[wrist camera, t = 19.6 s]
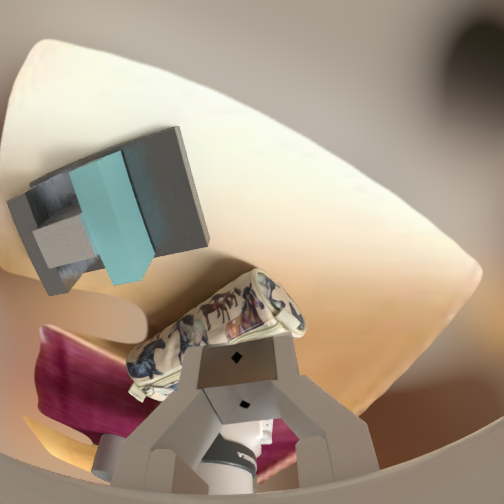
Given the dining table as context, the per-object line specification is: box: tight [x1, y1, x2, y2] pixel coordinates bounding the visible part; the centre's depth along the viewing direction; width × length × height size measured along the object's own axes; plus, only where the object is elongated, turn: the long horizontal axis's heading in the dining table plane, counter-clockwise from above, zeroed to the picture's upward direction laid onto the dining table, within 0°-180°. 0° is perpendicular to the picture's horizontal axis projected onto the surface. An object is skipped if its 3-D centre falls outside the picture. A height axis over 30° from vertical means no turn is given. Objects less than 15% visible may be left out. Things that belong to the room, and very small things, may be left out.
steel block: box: [32, 203, 99, 269], centre depth 26 cm, size 4×6×6 cm, turn 102°
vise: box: [7, 126, 210, 296], centre depth 27 cm, size 12×18×7 cm, turn 102°
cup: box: [91, 434, 125, 483], centre depth 50 cm, size 8×8×10 cm
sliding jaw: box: [69, 151, 155, 286], centre depth 26 cm, size 11×3×5 cm, turn 12°
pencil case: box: [126, 268, 307, 403], centre depth 33 cm, size 22×8×10 cm, turn 127°
